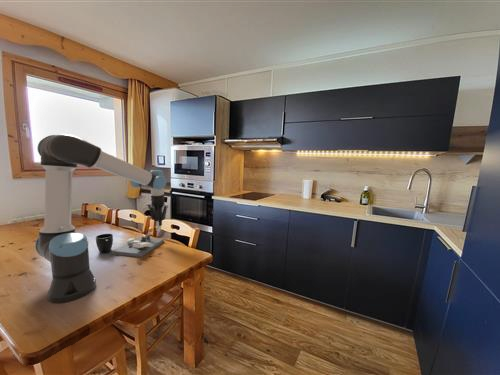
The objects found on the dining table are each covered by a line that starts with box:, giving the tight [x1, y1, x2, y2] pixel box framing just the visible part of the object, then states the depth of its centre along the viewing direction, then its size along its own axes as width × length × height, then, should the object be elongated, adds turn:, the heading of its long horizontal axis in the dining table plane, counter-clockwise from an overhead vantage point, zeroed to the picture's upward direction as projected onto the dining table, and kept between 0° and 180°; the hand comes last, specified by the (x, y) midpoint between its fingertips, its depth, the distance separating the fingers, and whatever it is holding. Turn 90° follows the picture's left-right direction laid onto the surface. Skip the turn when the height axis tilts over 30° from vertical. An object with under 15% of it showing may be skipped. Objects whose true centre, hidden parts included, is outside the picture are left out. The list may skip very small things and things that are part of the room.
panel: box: [112, 233, 165, 258], centre depth 129 cm, size 23×18×5 cm
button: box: [126, 237, 136, 245], centre depth 130 cm, size 4×4×2 cm
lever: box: [145, 227, 154, 239], centre depth 136 cm, size 3×3×9 cm
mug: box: [95, 233, 114, 254], centre depth 122 cm, size 8×12×10 cm
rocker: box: [133, 242, 151, 248], centre depth 122 cm, size 10×4×2 cm, turn 171°
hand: (158, 230), depth 134 cm, fingers closed
